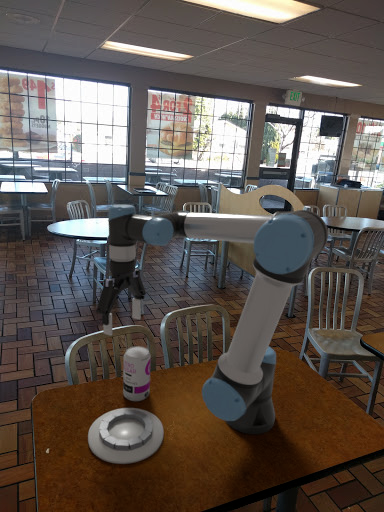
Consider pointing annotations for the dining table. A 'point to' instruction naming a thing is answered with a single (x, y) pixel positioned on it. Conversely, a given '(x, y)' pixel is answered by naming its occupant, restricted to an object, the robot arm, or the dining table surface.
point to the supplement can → (136, 373)
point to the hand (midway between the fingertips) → (122, 326)
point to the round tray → (125, 435)
